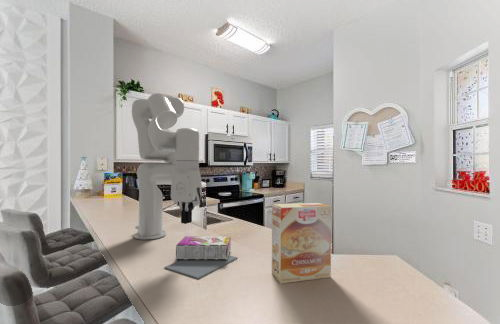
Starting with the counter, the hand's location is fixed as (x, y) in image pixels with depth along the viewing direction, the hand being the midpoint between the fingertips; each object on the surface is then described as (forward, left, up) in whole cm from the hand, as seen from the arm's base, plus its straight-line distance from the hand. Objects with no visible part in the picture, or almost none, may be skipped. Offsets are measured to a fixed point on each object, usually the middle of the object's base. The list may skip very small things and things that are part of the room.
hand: (186, 222), depth 81 cm
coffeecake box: (+36, +8, -12) cm, 39 cm away
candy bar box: (-4, +1, -9) cm, 10 cm away
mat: (+7, 0, -12) cm, 14 cm away
